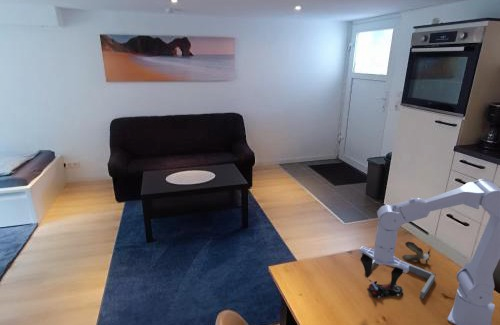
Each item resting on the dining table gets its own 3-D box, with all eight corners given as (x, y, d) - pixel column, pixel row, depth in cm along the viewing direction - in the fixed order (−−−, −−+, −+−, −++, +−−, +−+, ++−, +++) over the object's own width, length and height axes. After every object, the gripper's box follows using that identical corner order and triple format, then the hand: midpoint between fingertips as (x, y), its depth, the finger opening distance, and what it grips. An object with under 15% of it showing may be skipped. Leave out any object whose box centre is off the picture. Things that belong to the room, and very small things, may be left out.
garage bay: (434, 279, 109) (435, 274, 109) (423, 298, 101) (424, 292, 100) (379, 257, 123) (379, 251, 122) (364, 272, 114) (365, 266, 113)
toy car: (365, 287, 107) (366, 278, 105) (397, 285, 108) (399, 275, 106) (373, 300, 101) (375, 290, 100) (408, 297, 102) (409, 287, 101)
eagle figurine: (427, 252, 123) (403, 244, 127) (433, 245, 118) (408, 237, 121) (424, 270, 119) (400, 261, 123) (431, 263, 114) (405, 254, 117)
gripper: (356, 240, 94) (352, 277, 98) (405, 259, 84) (399, 299, 88) (366, 231, 99) (362, 267, 103) (414, 249, 89) (407, 287, 93)
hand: (379, 281), depth 96 cm, fingers open, 7 cm apart
